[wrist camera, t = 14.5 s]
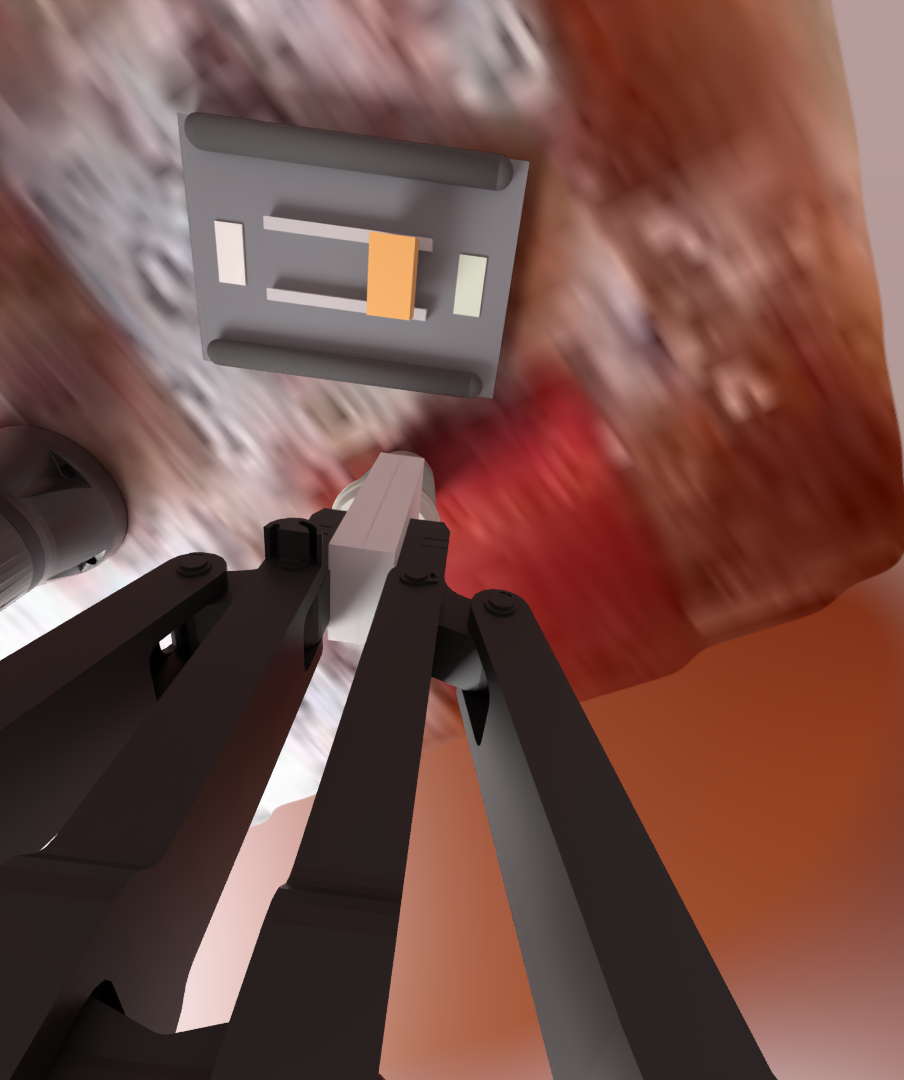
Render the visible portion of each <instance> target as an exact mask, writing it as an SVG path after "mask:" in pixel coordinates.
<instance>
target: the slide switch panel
mask: <svg viewBox="0 0 904 1080" xmlns="http://www.w3.org/2000/svg"><path fill="white" fill-rule="evenodd" d="M188 115H189V114H182V113H177V116H178V125H179V135H180V144H181V154H182V163H183V173H184V182H185V191H186V201H187V210H188V220H189V229H190V239H191V248H192V257H193V267H194V276H195V286H196V295H197V305H198V314H199V323H200V333H201V342H202V352H203V360H207V361H211V359H210V358H209V356H208V354H207V346H208V344H209V343H210V342H211V341H212V340H214V339H226V340H234V341H241V342H248V343H256V344H263V345H271V346H278V347H286V348H293V349H300V350H308V351H315V352H323V353H330V354H338V355H345V356H352V357H360V358H367V359H375V360H382V361H390V362H397V363H404V364H412V365H419V366H427V367H434V368H442V369H449V370H456V371H464V372H471V373H475V374H477V375H478V376H479V377H480V379H481V381H482V390H481V392H480V394H479V395H478V396H477V397H483V398H490V399H493V393H494V386H495V380H496V373H497V367H498V361H499V354H500V348H501V341H502V335H503V329H504V322H505V316H506V309H507V303H508V296H509V290H510V284H511V277H512V271H513V264H514V258H515V252H516V245H517V239H518V232H519V226H520V219H521V213H522V207H523V200H524V194H525V187H526V181H527V175H528V168H529V161H522V160H515V159H509V160H510V161H511V163H512V166H513V178H512V180H511V182H510V184H509V185H508V186H507V187H506V188H505V189H503V190H500V191H493V190H486V189H479V188H472V187H464V186H457V185H450V184H443V183H435V182H428V181H421V180H413V179H406V178H399V177H392V176H384V175H377V174H370V173H363V172H355V171H348V170H341V169H334V168H326V167H319V166H312V165H304V164H297V163H290V162H283V161H275V160H268V159H261V158H254V157H246V156H239V155H232V154H225V153H217V152H210V151H203V150H200V149H198V148H196V147H195V146H193V145H192V144H191V143H190V141H189V140H188V138H187V136H186V134H185V130H184V122H185V119H186V117H187V116H188ZM369 231H371V232H379V233H386V234H393V235H401V236H408V237H415V238H417V239H419V252H418V265H417V278H416V291H415V304H414V317H413V318H412V319H411V320H402V319H394V318H387V317H380V316H372V315H366V312H367V285H368V258H369Z"/></svg>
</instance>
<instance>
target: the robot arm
mask: <svg viewBox="0 0 904 1080" xmlns="http://www.w3.org/2000/svg"><path fill="white" fill-rule="evenodd" d="M424 460H425V458H419V457H412V456H404V455H397V454H389V453H382V452H381V453H380V455H379V456H378V458H377V460H376V462H375V464H374V465H373V467H372V469H371V471H370V472H369V474H368V476H367V478H366V479H365V481H364V483H363V485H362V486H361V488H360V490H359V492H358V493H357V495H356V497H355V499H354V500H353V502H352V504H351V506H350V507H349V509H348V511H343V510H336V509H328V508H324V509H322V510H320V511H318V512H316V513H314V514H312V516H311V517H310V519H309V520H307V519H303V518H285V519H279V520H276V521H273V522H270V523H268V524H267V525H266V526H264V542H265V558H266V559H265V560H264V561H263V563H262V564H261V565H260V567H259V568H258V569H254V570H243V571H227V563H226V562H225V560H224V559H223V558H222V557H220V556H218V555H215V554H210V553H204V552H198V553H197V552H194V553H189V554H185V555H180V556H177V557H175V558H173V559H171V560H168V561H167V562H165V563H163V564H162V565H160V566H158V567H157V568H155V569H153V570H152V571H150V572H148V573H147V574H145V575H143V576H142V577H140V578H138V579H137V580H135V581H133V582H131V583H130V584H128V585H126V586H125V587H123V588H121V589H120V590H118V591H116V592H115V593H113V594H111V595H110V596H108V597H106V598H105V599H103V600H101V601H100V602H98V603H96V604H95V605H93V606H91V607H90V608H88V609H86V610H84V611H83V612H81V613H79V614H78V615H76V616H74V617H73V618H71V619H69V620H68V621H66V622H64V623H63V624H61V625H59V626H58V627H56V628H54V629H53V630H51V631H49V632H48V633H46V634H44V635H42V636H41V637H39V638H37V639H36V640H34V641H32V642H31V643H29V644H27V645H26V646H24V647H22V648H21V649H19V650H17V651H16V652H14V653H12V654H11V655H9V656H7V657H6V658H4V659H2V660H1V661H0V1080H385V1079H384V1078H383V1077H382V1076H381V1075H380V1074H379V1065H380V1058H381V1049H382V1042H383V1035H384V1028H385V1020H386V1013H387V1005H388V998H389V989H390V983H391V975H392V967H393V959H394V952H395V945H396V937H397V930H398V922H399V915H400V906H401V899H402V892H403V884H404V877H405V869H406V862H407V853H408V846H409V839H410V832H411V824H412V817H413V809H414V802H415V794H416V787H417V779H418V770H419V764H420V757H421V749H422V742H423V734H424V726H425V719H426V711H427V704H428V696H429V689H430V681H431V677H433V678H436V679H438V680H441V681H443V682H446V683H448V684H451V685H453V686H456V687H457V699H458V703H459V707H460V711H461V715H462V719H463V723H464V727H465V731H466V735H467V739H468V743H469V747H470V750H471V754H472V758H473V762H474V766H475V770H476V774H477V778H478V782H479V786H480V790H481V794H482V798H483V802H484V806H485V810H486V814H487V818H488V822H489V826H490V830H491V834H492V838H493V842H494V846H495V850H496V854H497V858H498V862H499V865H500V870H501V874H502V877H503V881H504V885H505V889H506V893H507V897H508V901H509V905H510V909H511V912H512V917H513V921H514V925H515V929H516V933H517V937H518V941H519V945H520V949H521V953H522V957H523V961H524V965H525V969H526V973H527V977H528V981H529V985H530V989H531V992H532V996H533V1000H534V1004H535V1008H536V1012H537V1016H538V1020H539V1024H540V1028H541V1032H542V1036H543V1040H544V1044H545V1048H546V1052H547V1056H548V1060H549V1064H550V1068H551V1072H552V1075H553V1080H777V1078H776V1077H775V1076H774V1074H773V1073H772V1072H771V1070H770V1068H769V1066H768V1064H767V1062H766V1060H765V1058H764V1057H763V1054H762V1053H761V1051H760V1049H759V1047H758V1045H757V1043H756V1041H755V1039H754V1037H753V1035H752V1033H751V1031H750V1030H749V1028H748V1026H747V1024H746V1022H745V1020H744V1018H743V1016H742V1014H741V1012H740V1010H739V1009H738V1006H737V1005H736V1003H735V1001H734V999H733V997H732V995H731V993H730V991H729V989H728V987H727V985H726V984H725V982H724V980H723V978H722V976H721V974H720V972H719V970H718V968H717V966H716V964H715V962H714V960H713V958H712V957H711V955H710V953H709V951H708V949H707V947H706V945H705V943H704V941H703V939H702V937H701V935H700V933H699V932H698V930H697V928H696V926H695V924H694V922H693V920H692V918H691V916H690V914H689V912H688V911H687V909H686V907H685V905H684V903H683V901H682V899H681V897H680V895H679V894H678V891H677V889H676V887H675V886H674V884H673V882H672V880H671V878H670V876H669V874H668V872H667V870H666V868H665V866H664V865H663V863H662V861H661V859H660V857H659V855H658V853H657V851H656V849H655V847H654V845H653V843H652V841H651V839H650V838H649V836H648V834H647V832H646V830H645V828H644V826H643V824H642V822H641V820H640V818H639V817H638V815H637V813H636V811H635V809H634V807H633V805H632V803H631V801H630V799H629V797H628V795H627V793H626V791H625V790H624V788H623V786H622V784H621V782H620V780H619V778H618V776H617V774H616V772H615V770H614V768H613V767H612V765H611V763H610V761H609V759H608V757H607V755H606V753H605V751H604V749H603V747H602V745H601V744H600V742H599V740H598V738H597V736H596V734H595V732H594V730H593V728H592V726H591V724H590V723H589V721H588V719H587V717H586V715H585V713H584V711H583V709H582V707H581V705H580V703H579V701H578V699H577V697H576V696H575V694H574V692H573V690H572V688H571V686H570V684H569V682H568V680H567V678H566V676H565V674H564V672H563V671H562V669H561V667H560V665H559V663H558V661H557V659H556V657H555V655H554V653H553V651H552V649H551V648H550V646H549V644H548V642H547V640H546V638H545V636H544V634H543V632H542V630H541V628H540V626H539V625H538V623H537V621H536V619H535V617H534V615H533V613H532V611H531V609H530V607H529V605H528V604H527V603H526V602H525V601H524V600H523V599H522V598H521V597H519V596H517V595H516V594H514V593H511V592H508V591H505V590H497V589H490V590H483V591H481V592H479V593H476V594H475V595H474V597H473V598H472V599H469V598H466V597H464V596H461V595H459V594H457V593H456V592H454V591H452V590H451V589H450V588H449V587H448V586H447V584H446V582H445V578H444V575H445V567H446V559H447V552H448V544H449V536H450V531H449V529H448V528H447V526H446V525H445V523H444V522H436V521H428V520H421V519H419V511H420V501H421V491H422V481H423V471H424ZM126 529H127V514H126V509H125V505H124V502H123V499H122V496H121V494H120V492H119V490H118V488H117V486H116V484H115V482H114V481H113V479H112V478H111V476H110V475H109V474H108V472H107V471H106V470H105V469H104V467H103V466H102V465H101V464H100V463H99V462H98V461H97V460H96V459H95V458H94V457H93V456H92V455H90V454H89V453H88V452H87V451H86V450H84V449H83V448H82V447H80V446H79V445H77V444H76V443H74V442H73V441H71V440H69V439H67V438H65V437H63V436H61V435H59V434H57V433H55V432H52V431H49V430H46V429H43V428H39V427H34V426H26V425H12V426H6V427H2V428H0V612H1V611H2V610H3V609H5V608H6V607H8V606H9V605H10V604H12V603H13V602H15V601H16V600H17V599H19V598H20V597H22V596H23V595H24V594H26V593H27V592H29V591H30V590H31V589H33V588H34V587H36V586H39V585H43V584H46V583H49V582H53V581H56V580H60V579H63V578H67V577H70V576H73V575H77V574H80V573H83V572H86V571H88V570H91V569H93V568H94V567H96V566H98V565H99V564H101V563H102V562H103V561H105V560H106V559H107V558H108V557H110V556H111V555H112V554H114V553H115V552H116V551H117V549H118V548H119V547H120V545H121V544H122V542H123V540H124V537H125V534H126ZM327 625H328V640H335V641H343V642H351V643H358V644H365V645H364V649H363V652H362V655H361V658H360V661H359V664H358V667H357V670H356V673H355V676H354V680H353V683H352V686H351V689H350V692H349V695H348V698H347V701H346V704H345V707H344V711H343V714H342V717H341V720H340V723H339V726H338V729H337V732H336V735H335V738H334V742H333V745H332V748H331V751H330V754H329V757H328V760H327V763H326V766H325V769H324V772H323V776H322V779H321V782H320V785H319V788H318V791H317V794H316V797H315V800H314V804H313V807H312V810H311V813H310V816H309V819H308V822H307V825H306V828H305V831H304V834H303V838H302V841H301V844H300V847H299V850H298V853H297V856H296V859H295V862H294V865H293V868H292V871H291V874H290V876H289V878H288V880H287V882H286V883H285V884H284V885H282V886H281V887H279V888H278V890H277V891H276V893H275V895H274V897H273V899H272V901H271V903H270V906H269V909H268V911H267V914H266V916H265V919H264V922H263V925H262V927H261V930H260V933H259V937H258V940H257V942H256V945H255V948H254V951H253V954H252V957H251V960H250V963H249V966H248V969H247V971H246V974H245V977H244V980H243V983H242V986H241V989H240V992H239V995H238V998H237V1001H236V1004H235V1007H234V1010H233V1012H232V1015H231V1018H230V1021H229V1022H228V1023H223V1024H218V1025H213V1026H208V1027H203V1028H198V1029H194V1030H189V1031H184V1032H179V1033H175V1032H176V1029H177V1025H178V1021H179V1017H180V1013H181V1010H182V1004H183V997H184V992H185V986H186V982H187V978H188V974H189V971H190V969H191V966H192V963H193V961H194V958H195V956H196V953H197V951H198V948H199V946H200V944H201V941H202V939H203V937H204V934H205V932H206V929H207V927H208V924H209V922H210V920H211V917H212V915H213V912H214V910H215V908H216V905H217V903H218V901H219V898H220V896H221V893H222V891H223V889H224V886H225V884H226V881H227V879H228V877H229V874H230V872H231V870H232V867H233V865H234V862H235V860H236V857H237V855H238V853H239V851H240V848H241V846H242V843H243V841H244V838H245V836H246V834H247V831H248V829H249V827H250V824H251V822H252V820H253V817H254V815H255V812H256V810H257V808H258V805H259V803H260V800H261V798H262V796H263V793H264V791H265V788H266V786H267V784H268V781H269V779H270V777H271V774H272V772H273V769H274V767H275V765H276V762H277V760H278V757H279V755H280V753H281V750H282V748H283V745H284V743H285V741H286V738H287V736H288V734H289V731H290V729H291V726H292V724H293V722H294V719H295V717H296V714H297V712H298V710H299V707H300V705H301V702H302V700H303V698H304V695H305V693H306V691H307V688H308V686H309V683H310V681H311V679H312V676H313V674H314V671H315V669H316V667H317V664H318V662H319V659H320V657H321V655H322V650H323V634H324V632H325V629H326V627H327ZM170 633H171V638H172V644H171V645H169V646H168V647H167V648H165V649H163V650H161V648H160V644H159V642H160V641H161V640H162V639H163V638H165V637H166V636H167V635H169V634H170ZM54 836H56V837H55V838H54V839H53V840H52V841H51V842H50V843H49V844H48V845H47V847H45V848H44V849H42V848H43V847H44V846H45V845H46V844H47V843H48V842H49V841H50V840H51V839H52V838H53V837H54ZM41 849H42V850H41ZM40 850H41V851H40Z"/></svg>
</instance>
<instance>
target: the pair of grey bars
mask: <svg viewBox="0 0 904 1080" xmlns="http://www.w3.org/2000/svg"><path fill="white" fill-rule="evenodd" d="M184 130H185V134H186V136H187V138H188V140H189V141H190V143H191V144H192V145H193V146H195V147H196V148H198V149H200V150H203V151H210V152H217V153H225V154H232V155H239V156H246V157H254V158H261V159H268V160H275V161H283V162H290V163H297V164H304V165H312V166H319V167H326V168H334V169H341V170H348V171H355V172H363V173H370V174H377V175H384V176H392V177H399V178H406V179H413V180H421V181H428V182H435V183H443V184H450V185H457V186H464V187H472V188H479V189H486V190H493V191H500V190H503V189H505V188H506V187H507V186H508V185H509V184H510V182H511V180H512V178H513V166H512V163H511V161H510V160H509V158H508V157H506V156H505V155H502V154H496V153H489V152H481V151H474V150H467V149H460V148H452V147H445V146H438V145H431V144H423V143H416V142H409V141H402V140H394V139H387V138H380V137H373V136H366V135H358V134H351V133H344V132H337V131H329V130H322V129H315V128H308V127H300V126H293V125H286V124H279V123H271V122H264V121H257V120H250V119H243V118H235V117H228V116H221V115H214V114H206V113H199V112H194V113H191V114H189V115H188V116H187V117H186V119H185V122H184ZM207 354H208V356H209V358H210V359H211V361H213V362H214V363H215V364H218V365H222V366H230V367H237V368H245V369H252V370H260V371H267V372H275V373H282V374H290V375H297V376H304V377H312V378H319V379H327V380H334V381H342V382H349V383H357V384H364V385H371V386H379V387H386V388H394V389H401V390H409V391H416V392H424V393H431V394H439V395H446V396H453V397H461V398H468V399H471V398H475V397H477V396H478V395H479V394H480V392H481V390H482V381H481V379H480V377H479V376H478V375H477V374H475V373H471V372H464V371H456V370H449V369H442V368H434V367H427V366H419V365H412V364H404V363H397V362H390V361H382V360H375V359H367V358H360V357H352V356H345V355H338V354H330V353H323V352H315V351H308V350H300V349H293V348H286V347H278V346H271V345H263V344H256V343H248V342H241V341H234V340H226V339H214V340H212V341H211V342H210V343H209V344H208V346H207Z"/></svg>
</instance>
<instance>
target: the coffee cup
mask: <svg viewBox="0 0 904 1080" xmlns="http://www.w3.org/2000/svg"><path fill="white" fill-rule="evenodd" d="M389 454H397V455H404V456H412V457H419V458H422V457H420V456H419V455H417V454H415V453H413V452H409V451H394V452H391V453H389ZM371 469H372V468H371ZM371 469H369V470H368V471H367V472H366V473H365V474H364V475H363V476H362V477H361V478H360V479H359V480H356V481H354V482H353V483H351V484H349V485H348V486H347V487H346V488H344V489H343V490H342V492H341V493H340V494H339V495H338V497H337V498H336V500H335V502H334V504H333V507H332V509H336V510H343V511H348V509H349V507H350V506H351V504H352V502H353V500H354V499H355V497H356V495H357V493H358V492H359V490H360V488H361V486H362V485H363V483H364V481H365V479H366V478H367V476H368V474H369V472H370V471H371ZM419 519H421V520H428V521H436V522H440V518H439V514H438V512H437V509H436V498H435V483H434V475H433V472H432V469H431V467H430V466H429V464H428V463H427V462H426V461H425V460H424V471H423V481H422V491H421V501H420V511H419Z"/></svg>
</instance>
